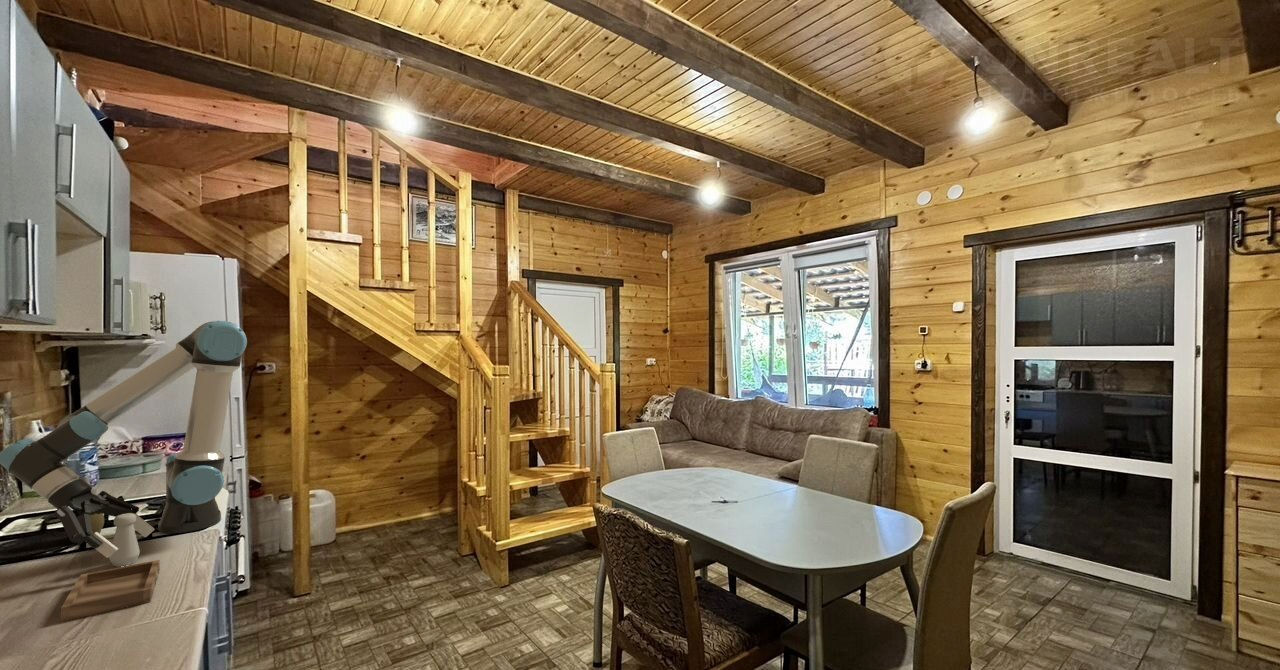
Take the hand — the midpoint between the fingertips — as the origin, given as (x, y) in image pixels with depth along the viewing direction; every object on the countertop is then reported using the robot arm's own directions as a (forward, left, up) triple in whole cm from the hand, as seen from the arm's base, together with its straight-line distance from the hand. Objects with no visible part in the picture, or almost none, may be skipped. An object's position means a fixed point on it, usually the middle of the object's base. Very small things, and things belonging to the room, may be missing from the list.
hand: (132, 542), depth 141 cm
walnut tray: (+14, +13, -5) cm, 20 cm away
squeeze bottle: (-13, -32, -6) cm, 35 cm away
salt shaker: (0, -2, -6) cm, 6 cm away
